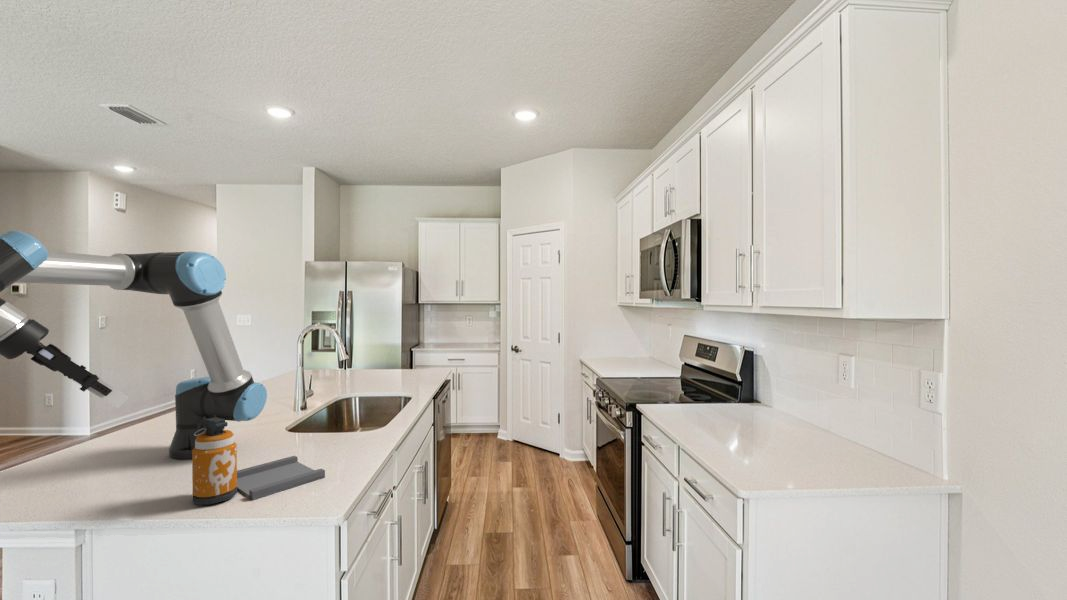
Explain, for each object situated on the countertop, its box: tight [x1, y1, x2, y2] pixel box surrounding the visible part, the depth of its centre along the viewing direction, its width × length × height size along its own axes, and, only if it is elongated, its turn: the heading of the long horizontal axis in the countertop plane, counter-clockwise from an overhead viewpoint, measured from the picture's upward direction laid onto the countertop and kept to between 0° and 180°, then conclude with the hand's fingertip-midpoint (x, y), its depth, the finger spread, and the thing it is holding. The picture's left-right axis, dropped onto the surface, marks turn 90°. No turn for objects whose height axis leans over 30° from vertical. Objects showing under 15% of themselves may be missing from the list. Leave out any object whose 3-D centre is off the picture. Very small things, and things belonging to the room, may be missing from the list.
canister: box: [191, 415, 238, 506], centre depth 115 cm, size 9×11×20 cm
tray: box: [237, 455, 326, 501], centre depth 126 cm, size 18×18×2 cm
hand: (115, 397), depth 100 cm, fingers open, 13 cm apart
